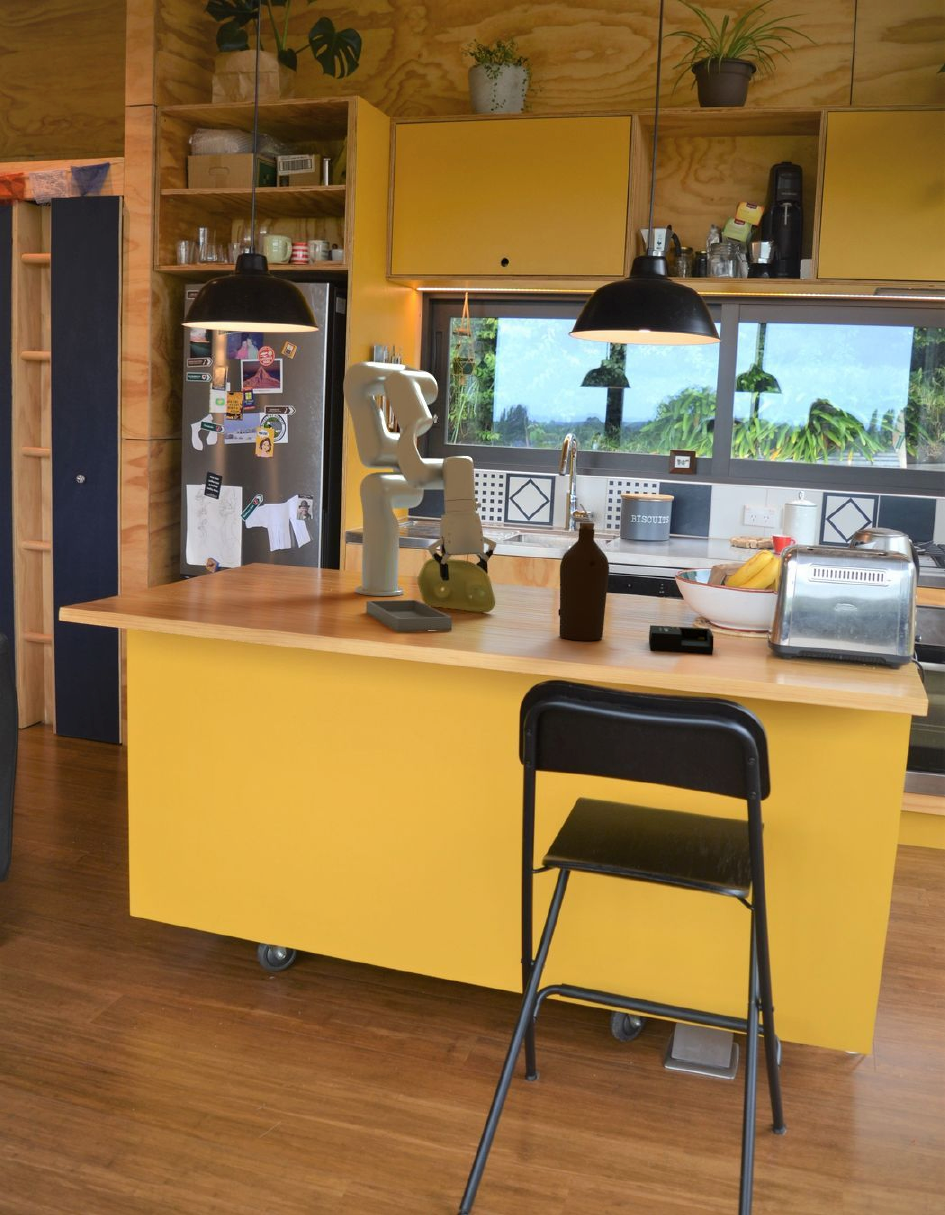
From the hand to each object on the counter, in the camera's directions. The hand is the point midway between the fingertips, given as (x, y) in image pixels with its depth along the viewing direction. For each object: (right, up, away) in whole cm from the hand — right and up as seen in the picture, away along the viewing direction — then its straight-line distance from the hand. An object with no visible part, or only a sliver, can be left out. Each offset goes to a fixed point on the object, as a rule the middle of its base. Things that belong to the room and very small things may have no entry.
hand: (464, 579), depth 274 cm
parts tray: (-13, -10, -15) cm, 23 cm away
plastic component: (+1, -5, +6) cm, 8 cm away
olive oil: (+26, -14, -26) cm, 39 cm away
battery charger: (+46, -16, -33) cm, 59 cm away
